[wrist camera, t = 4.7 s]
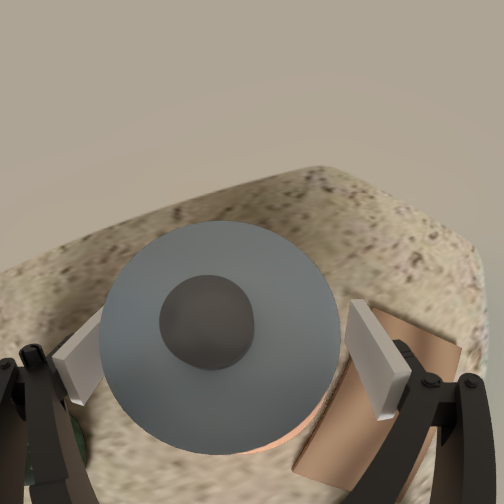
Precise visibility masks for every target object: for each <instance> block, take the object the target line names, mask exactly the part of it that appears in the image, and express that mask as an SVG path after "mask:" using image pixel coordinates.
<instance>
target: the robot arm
mask: <svg viewBox="0 0 504 504" xmlns="http://www.w3.org/2000/svg"><path fill="white" fill-rule="evenodd" d="M103 307H104V306H103ZM103 307H101V308H100V309H99V310H98V311H97V312H96V313H95V314H94V315H93V316H92V317H91V318H90V319H89V320H88V321H87V322H86V323H85V324H84V325H83V326H82V327H81V328H80V329H79V330H78V331H77V332H76V333H73V334H71V335H69V336H67V337H66V338H65V339H64V340H63V341H62V343H60V344H59V345H58V347H56V348H55V349H54V350H53V351H52V352H51V353H50V354H49V355H48V356H47V357H45V355H44V352H43V350H42V347H41V346H40V345H39V344H29V345H26V346H25V347H23V348H22V349H21V350H20V351H19V356H20V358H21V360H22V362H23V365H24V367H17V364H16V362H15V360H14V359H13V358H4V359H1V360H0V504H23V499H24V477H25V465H26V455H27V447H28V444H29V452H30V459H31V465H32V470H33V476H34V481H35V484H34V485H30V487H29V492H30V497H31V501H32V504H99V502H98V500H97V498H96V495H95V493H94V491H93V488H92V486H91V483H90V480H89V478H88V475H87V472H86V470H85V467H84V464H83V461H82V458H81V455H80V452H79V449H78V445H77V442H76V439H75V435H74V431H73V428H72V424H71V420H70V416H69V412H68V407H67V403H66V401H65V399H64V397H65V396H66V395H67V393H68V395H69V397H70V399H71V401H72V402H73V403H76V404H79V405H83V406H84V405H85V403H86V402H87V400H88V399H89V397H90V396H91V394H92V393H93V391H94V390H95V389H96V387H97V386H98V384H99V383H100V381H101V380H102V378H103V377H104V375H105V374H104V371H103V368H102V363H101V358H100V351H99V327H100V320H101V315H102V310H103ZM344 341H345V343H346V346H347V348H348V350H349V353H350V355H351V357H352V360H353V362H354V364H355V367H356V369H357V371H358V374H359V376H360V379H361V381H362V384H363V386H364V388H365V391H366V393H367V396H368V398H369V401H370V403H371V406H372V408H373V411H374V413H375V416H376V419H377V421H380V420H385V419H390V418H393V417H394V415H395V412H396V410H398V412H399V415H398V417H397V418H396V420H395V422H394V424H393V426H392V428H391V430H390V432H389V433H388V435H387V437H386V439H385V440H384V442H383V444H382V446H381V447H380V449H379V451H378V452H377V454H376V455H375V457H374V459H373V460H372V462H371V463H370V465H369V466H368V468H367V469H366V471H365V472H364V474H363V475H362V477H361V478H360V480H359V481H358V483H357V484H356V485H355V487H354V488H353V490H352V491H351V492H350V494H349V495H348V496H347V498H346V499H345V500H344V502H343V503H342V504H394V503H395V501H396V499H397V498H398V496H399V494H400V492H401V490H402V488H403V487H404V485H405V483H406V481H407V479H408V477H409V475H410V473H411V471H412V469H413V466H414V464H415V462H416V460H417V458H418V455H419V453H420V451H421V448H422V446H423V444H424V441H425V439H426V436H427V434H428V431H429V428H430V427H437V446H436V459H435V469H434V477H433V485H432V491H431V497H430V503H429V504H496V463H495V449H494V440H493V431H492V423H491V417H490V411H489V405H488V400H487V395H486V390H485V385H484V382H483V380H482V379H481V378H480V377H479V376H478V375H476V374H472V373H465V374H462V375H461V376H460V377H459V380H458V382H443V380H442V378H441V377H439V376H438V375H436V374H434V373H430V372H426V370H425V369H424V367H423V366H422V365H421V363H420V362H419V360H418V359H417V358H416V357H415V355H414V353H413V352H411V349H410V348H409V346H408V345H407V344H406V343H404V342H403V341H401V340H400V339H397V340H391V338H390V337H389V335H388V334H387V333H386V331H385V330H384V328H383V327H382V325H381V324H380V322H379V321H378V320H377V318H376V317H375V315H374V314H373V312H372V311H371V310H370V308H369V307H368V305H367V304H366V303H365V301H364V300H363V299H352V300H350V306H349V313H348V320H347V327H346V333H345V340H344ZM11 399H12V402H11Z"/></svg>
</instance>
